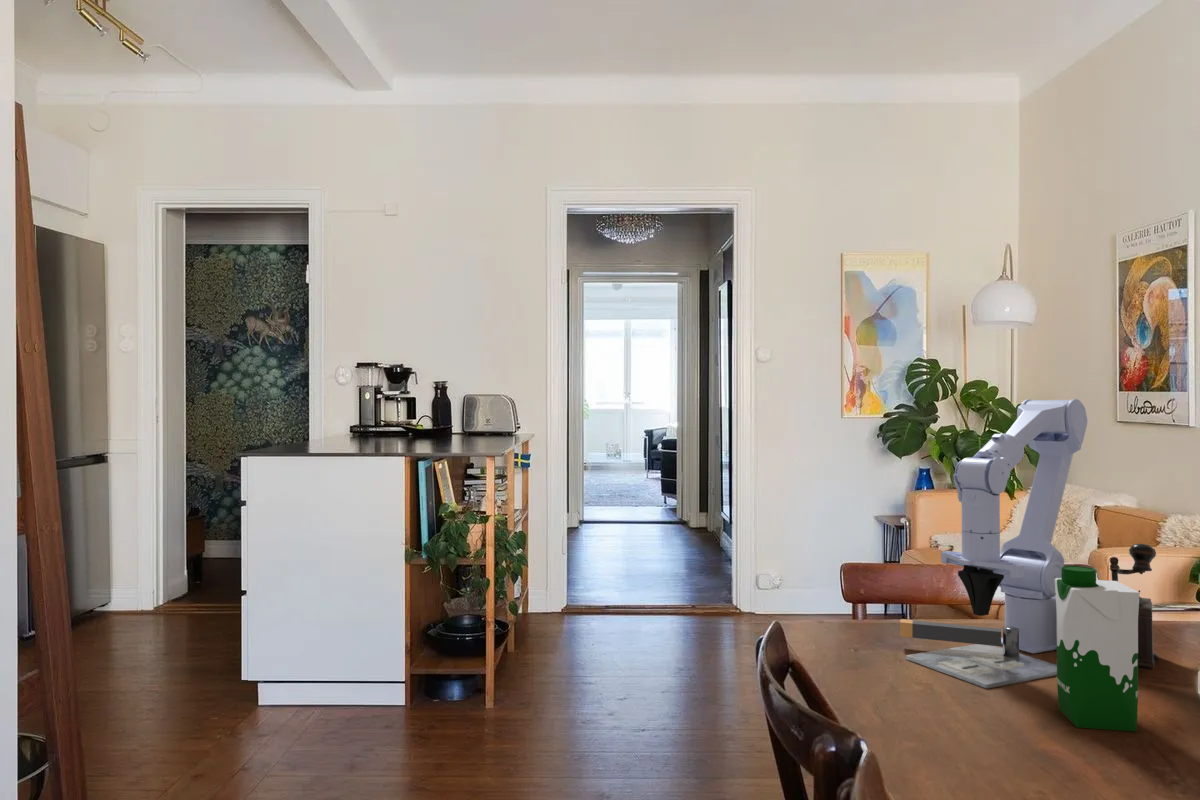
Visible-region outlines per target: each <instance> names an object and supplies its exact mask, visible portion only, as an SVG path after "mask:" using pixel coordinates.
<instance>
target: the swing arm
mask: <svg viewBox="0 0 1200 800" xmlns="http://www.w3.org/2000/svg"><path fill="white" fill-rule="evenodd" d="M899 637H900V638H908V639H921V640H922V639H924V640H931V641H932V640H933V641H943V642H951V643H963V644H969V645H974V644H980V645H990V646H997V647H1000V648H1002V644H1001V638H1002V630H1001V628H999V627H998V628H996V627H988V626H987V627H985V626H978V625H977V626H974V625H964V624H953V623H943V622H941V623H940V622H932V621H931V622H930V621H921V620H920V621H919V620H913V619H904V618H901V619H900V621H899Z"/></svg>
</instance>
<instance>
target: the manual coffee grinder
mask: <svg viewBox="0 0 1200 800" xmlns="http://www.w3.org/2000/svg"><path fill="white" fill-rule="evenodd" d="M1128 554H1129V556H1130V557H1131V558H1132V559H1133V561H1134V563H1133V566H1132V568H1131V569H1123V568H1120V565H1119V561H1120V559H1118V557H1116V556H1112V557H1110V558H1109V562H1110V564H1109V571H1111V581H1118V582H1119V575H1132V574H1140V575H1143V574H1144V573H1146V572H1152V570H1153V569H1152V568H1151V562H1152V561H1153V559H1155V557H1156V556H1157V551H1156V549H1155V548H1154V547H1152V546H1151V545H1149V544H1145V543H1135V544H1133V545H1131V546H1130V548H1129V550H1128ZM1137 591H1138V592H1139V593H1141V590H1140V589H1139V590H1137ZM1153 625H1154V624H1153V602H1152V598H1148V597H1141V596H1139V611H1138V669H1147V670H1153V669H1154V668H1155V664H1156V662H1157V661H1158V660H1159V654H1158V653H1157V652H1154V627H1153Z"/></svg>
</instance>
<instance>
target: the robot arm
mask: <svg viewBox="0 0 1200 800" xmlns="http://www.w3.org/2000/svg"><path fill="white" fill-rule="evenodd" d="M1087 426H1088V416H1087V410H1086V407H1085V405H1084V404H1083V402H1082V401H1081V400H1080V399H1078V398H1072V399H1034V400H1033V399H1029V398H1028V399H1024V400H1023V401H1022V402H1021V403H1020V405H1019V406H1017V412H1016V420H1015V421H1014V422H1013V424H1012V425H1011V426H1010V428H1009V429H1008V430H1007V431H1006V432H1005V433H994V434H993V435H991V439H990V440H988V441H987V442H986V444H984V445H983V446H982V447H981V448H980V449H979V450H978V451H977V452H976V453H975V454H974V455H973V456H972V457H965V458H963V459H962V460H960V461H959V462H957V464H956V466H955V469H954V473H953V476H952V477H953V484H954V485H955V488H956V491H957V499H958V502H960V503H961V552H958V551H952V550H946V551H944V550H943V551H941V552H940V555H941V556H940V558H941V559H940V561H941V562H940V563H941V564H946V565H948V564H950V565H955V566H958V567H963V568H962V570H957V575H958V577H959V578H960V580H961V582H962V583H963V586H964V589H965V590H966V593H967V596H968V598H969V602H970V606H971V610H972V613H973V615H975V616H979V617H981V616H989V614H990V610H991V606H992V603H993V599H994V596H995V594H996V592H997V590H998V588H1000V592H1001V593H1004V627H1005V626H1011V627H1016V628H1019V651H1023V652H1026V653H1030V654H1038V653H1043V652H1049V651H1050V652H1051V651H1054V650H1056V651H1057V609H1056V592H1055V578H1061V577H1062V567H1063V566H1065V558H1064V556H1063V554H1062V553H1061V552H1060V550H1059V549H1057V548H1056V546H1054V545H1053V544H1052V540H1053V537H1054V533H1055V529H1056V525H1057V521H1058V516H1059V513H1060V508H1061V504H1062V500H1063V497H1064V494H1065V493H1064V492H1065V489H1066V484H1067V480H1068V476H1069V472H1070V468H1071V465H1072V460H1073V456H1074V454H1075V453H1077V452H1079V451H1081V449H1082V444H1083V443H1084V439H1085V434H1086V430H1087ZM1027 445H1028V447H1029V449H1031V450H1033V451H1035V452H1037V453H1038V454H1039V459H1038V461H1037V466H1036V470H1035V472H1034V474H1035V475H1034V477H1033V481H1032V484H1031V489H1030V492H1029V497H1028V500H1027V504H1026V508H1025V512H1024V514H1023V515H1024V516H1023V520H1022V522H1021V526H1020V531H1019V534H1018V535H1016V536H1015V537H1013V538H1011V539H1009V540H1006V541H1005V542H1003V543H1002V547H1001V521H1000V520H1001V519H1000V517H1001V513H1000V512H1001V510H1000V508H1001V507H1000V505H1001V502H1000V501H1001V500H1000V499H1001V497H1000V496H1001V495H1000V494H1001V493H1003V492H1004V491H1005V490H1006V487H1007V485H1008V480H1009V478H1010V477H1011V476H1010V475H1011V471H1012V470H1013V469H1014V468H1015V467H1016V466H1017V465H1019V463H1020V462H1021V461H1022V459H1023V458H1024V456H1025V450H1024V448H1025V447H1026V446H1027ZM1001 646H1003V637H1001Z"/></svg>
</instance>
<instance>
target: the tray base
mask: <svg viewBox="0 0 1200 800" xmlns="http://www.w3.org/2000/svg"><path fill="white" fill-rule="evenodd" d="M1002 638H1003V645H1002V647H1000V646H990V645H980V644H969V645H963V646H957V647H951V648H944V649H943V648H942V649H938V650H937V649H936V650H932V651H931V650H930V651H924V652H918V653H912V654H907V655H905V660H907V661H910V662H913V663H915V664H918V665H921V666H924V667H925V668H926V667H927V668H929V669H931V670H934V671H936V672H939V673H943V674H945V675H948V676H951V677H954V678H956V679H959V680H962V681H965V682H966V683H970V684H972V685H975V686H978V687H980V688H984V689H991V688H992V689H993V688H997V687H1003V686H1007V685H1012V684H1017V683H1023V682H1029V681H1032V680H1039V679H1045V678H1050V677H1055V676H1057V664H1055V663H1051V662H1049V661H1046V660H1042V659H1038V658H1035V657H1033V656H1029V655H1025V654H1022V653H1020V650H1019V628H1016V627H1011V626H1005V625H1004V626H1003V627H1002Z"/></svg>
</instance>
